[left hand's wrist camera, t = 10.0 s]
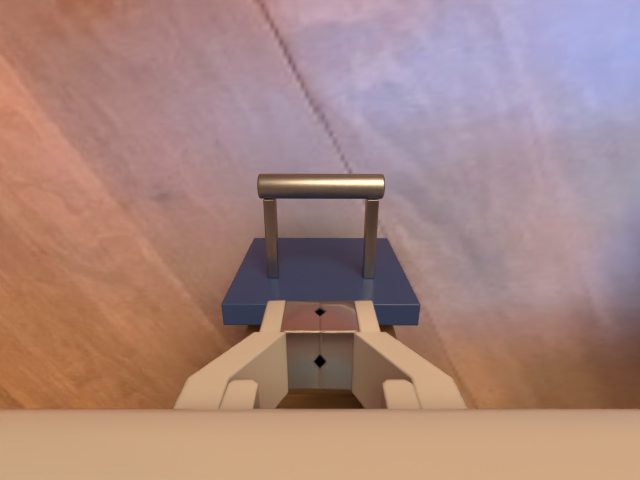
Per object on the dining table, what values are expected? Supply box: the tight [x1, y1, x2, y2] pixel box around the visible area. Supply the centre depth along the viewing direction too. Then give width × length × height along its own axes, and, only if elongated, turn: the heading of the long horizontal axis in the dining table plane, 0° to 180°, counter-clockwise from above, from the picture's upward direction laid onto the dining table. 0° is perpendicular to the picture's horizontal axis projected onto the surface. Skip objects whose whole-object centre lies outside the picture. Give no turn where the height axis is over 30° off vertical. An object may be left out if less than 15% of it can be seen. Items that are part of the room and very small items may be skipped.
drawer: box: [222, 174, 420, 409], centre depth 22 cm, size 20×10×9 cm, turn 0°
